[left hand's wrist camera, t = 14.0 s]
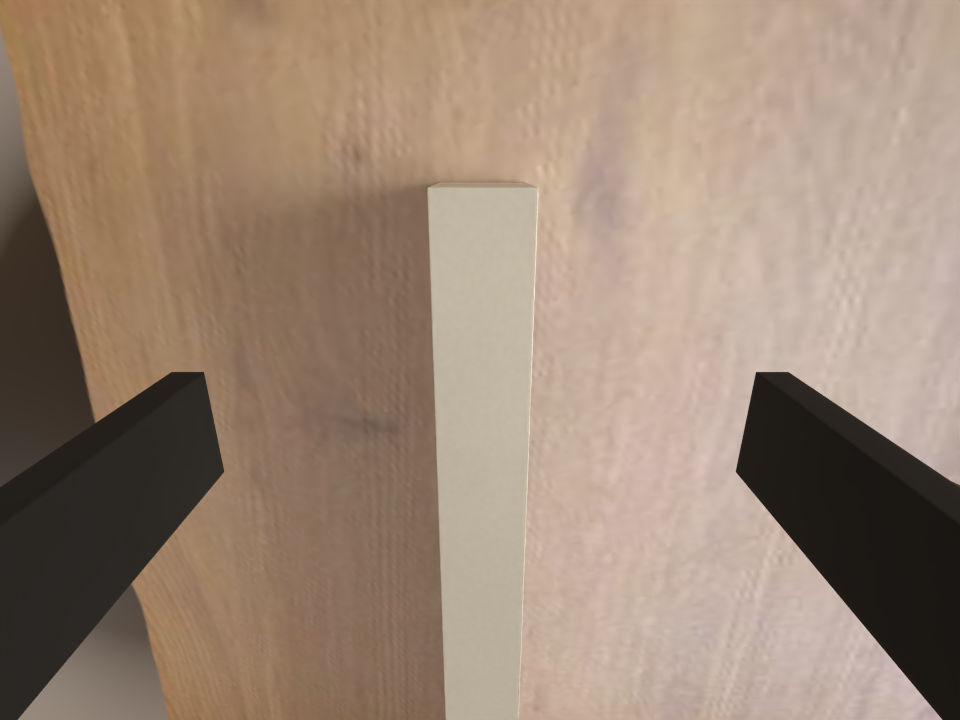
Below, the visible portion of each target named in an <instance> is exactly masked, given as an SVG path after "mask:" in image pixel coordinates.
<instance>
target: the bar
mask: <svg viewBox="0 0 960 720" xmlns="http://www.w3.org/2000/svg"><path fill="white" fill-rule="evenodd" d="M427 202H428V231H429V260H430V288H431V317H432V346H433V375H434V404H435V433H436V462H437V490H438V519H439V548H440V577H441V606H442V635H443V663H444V692H445V720H519V693H520V666H521V640H522V613H523V587H524V560H525V534H526V507H527V481H528V454H529V428H530V401H531V375H532V348H533V321H534V295H535V268H536V242H537V215H538V187H535V186H533V185H530V184H527V183H525V182H439V183H437V184H435V185H432V186H430V187H428V188H427Z"/></svg>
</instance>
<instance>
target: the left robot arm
mask: <svg viewBox="0 0 960 720" xmlns="http://www.w3.org/2000/svg"><path fill="white" fill-rule="evenodd" d="M223 473H224V468H223V464H222V459H221V454H220V449H219V444H218V439H217V434H216V429H215V424H214V419H213V415H212V410H211V405H210V400H209V395H208V390H207V385H206V380H205V375H204V372H171V373H170V374H168V375H167V376H165V377H164V378H162V379H161V380H159V381H158V382H156V383H155V384H153V385H152V386H150V387H149V388H147V389H146V390H144V391H143V392H141V393H140V394H138V395H137V396H135V397H134V398H132V399H131V400H129V401H128V402H126V403H125V404H123V405H122V406H121V407H119V408H118V409H116V410H115V411H113V412H112V413H110V414H109V415H107V416H106V417H104V418H103V419H101V420H100V421H98V422H97V423H95V424H94V425H92V426H91V427H89V428H88V429H86V430H85V431H83V432H82V433H80V434H79V435H77V436H76V437H74V438H73V439H71V440H70V441H68V442H67V443H65V444H64V445H62V446H61V447H60V448H58V449H57V450H55V451H54V452H52V453H51V454H49V455H48V456H46V457H45V458H43V459H42V460H40V461H39V462H37V463H36V464H34V465H33V466H31V467H30V468H28V469H27V470H25V471H24V472H22V473H21V474H19V475H18V476H16V477H15V478H13V479H12V480H10V481H9V482H7V483H6V484H4V485H3V486H1V487H0V720H18V718H19V717H20V716H21V715H22V714H23V712H24V711H25V710H26V709H27V708H28V706H29V705H30V704H31V703H32V702H33V700H34V699H35V698H36V697H37V696H38V694H39V693H40V692H41V691H42V690H43V688H44V687H45V686H46V685H47V684H48V682H49V681H50V680H51V679H52V678H53V676H54V675H55V674H56V673H57V672H58V670H59V669H60V668H61V667H62V666H63V664H64V663H65V662H66V661H67V660H68V658H69V657H70V656H71V655H72V654H73V652H74V651H75V650H76V649H77V648H78V646H79V645H80V644H81V643H82V642H83V641H84V639H85V638H86V637H87V636H88V634H89V633H90V632H91V631H92V630H93V628H94V627H95V626H96V625H97V624H98V623H99V621H100V620H101V619H102V618H103V616H104V615H105V614H106V613H107V612H108V611H109V609H110V608H111V607H112V606H113V605H114V603H115V602H116V601H117V600H118V599H119V597H120V596H121V595H122V594H123V593H124V591H125V590H126V589H127V588H128V587H129V585H130V584H131V583H132V582H133V581H134V579H135V578H136V577H137V576H138V575H139V573H140V572H141V571H142V570H143V569H144V567H145V566H146V565H147V564H148V563H149V561H150V560H151V559H152V558H153V557H154V555H155V554H156V553H157V552H158V551H159V549H160V548H161V547H162V546H163V545H164V543H165V542H166V541H167V540H168V539H169V537H170V536H171V535H172V534H173V533H174V531H175V530H176V529H177V528H178V527H179V525H180V524H181V523H182V522H183V521H184V519H185V518H186V517H187V516H188V515H189V513H190V512H191V511H192V510H193V509H194V507H195V506H196V505H197V504H198V503H199V501H200V500H201V499H202V498H203V497H204V495H205V494H206V493H207V492H208V491H209V489H210V488H211V487H212V486H213V485H214V483H215V482H216V481H217V480H218V479H219V477H220V476H221V475H222V474H223ZM736 473H737V474H738V475H739V476H740V477H741V479H742V480H743V481H744V482H745V483H746V485H747V486H748V487H749V488H750V489H751V491H752V492H753V493H754V494H755V495H756V497H757V498H758V499H759V500H760V501H761V503H762V504H763V505H764V506H765V507H766V509H767V510H768V511H769V512H770V513H771V515H772V516H773V517H774V518H775V519H776V521H777V522H778V523H779V524H780V525H781V527H782V528H783V529H784V530H785V531H786V533H787V534H788V535H789V536H790V537H791V539H792V540H793V541H794V542H795V543H796V545H797V546H798V547H799V548H800V549H801V551H802V552H803V553H804V554H805V555H806V557H807V558H808V559H809V560H810V561H811V563H812V564H813V565H814V566H815V567H816V569H817V570H818V571H819V572H820V573H821V575H822V576H823V577H824V578H825V579H826V581H827V582H828V583H829V584H830V585H831V587H832V588H833V589H834V590H835V591H836V593H837V594H838V595H839V596H840V597H841V599H842V600H843V601H844V602H845V603H846V605H847V606H848V607H849V608H850V609H851V611H852V612H853V613H854V614H855V615H856V617H857V618H858V619H859V620H860V621H861V623H862V624H863V625H864V626H865V627H866V629H867V630H868V631H869V632H870V633H871V635H872V636H873V637H874V638H875V639H876V641H877V642H878V643H879V644H880V645H881V647H882V648H883V649H884V650H885V651H886V653H887V654H888V655H889V656H890V657H891V659H892V660H893V661H894V662H895V663H896V664H897V666H898V667H899V668H900V669H901V670H902V672H903V673H904V674H905V675H906V676H907V678H908V679H909V680H910V681H911V682H912V684H913V685H914V686H915V687H916V688H917V690H918V691H919V692H920V693H921V694H922V696H923V697H924V698H925V699H926V700H927V702H928V703H929V704H930V705H931V706H932V708H933V709H934V710H935V711H936V712H937V714H938V715H939V716H940V717H941V718H942V720H960V485H958V484H956V483H954V482H951V481H950V480H948V479H947V478H945V477H944V476H942V475H941V474H939V473H938V472H936V471H935V470H933V469H932V468H930V467H929V466H927V465H926V464H924V463H923V462H921V461H920V460H918V459H917V458H915V457H914V456H912V455H911V454H909V453H908V452H906V451H905V450H903V449H902V448H901V447H899V446H898V445H896V444H895V443H893V442H892V441H890V440H889V439H887V438H886V437H884V436H883V435H881V434H880V433H878V432H877V431H875V430H874V429H872V428H871V427H869V426H868V425H866V424H865V423H863V422H862V421H860V420H859V419H857V418H856V417H854V416H853V415H851V414H850V413H848V412H847V411H845V410H844V409H842V408H841V407H839V406H838V405H837V404H835V403H834V402H832V401H831V400H829V399H828V398H826V397H825V396H823V395H822V394H820V393H819V392H817V391H816V390H814V389H813V388H811V387H810V386H808V385H807V384H805V383H804V382H802V381H801V380H799V379H798V378H796V377H795V376H793V375H792V374H790V373H789V372H756V375H755V380H754V385H753V390H752V395H751V400H750V405H749V410H748V415H747V419H746V424H745V429H744V434H743V439H742V444H741V449H740V454H739V459H738V464H737V468H736Z"/></svg>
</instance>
